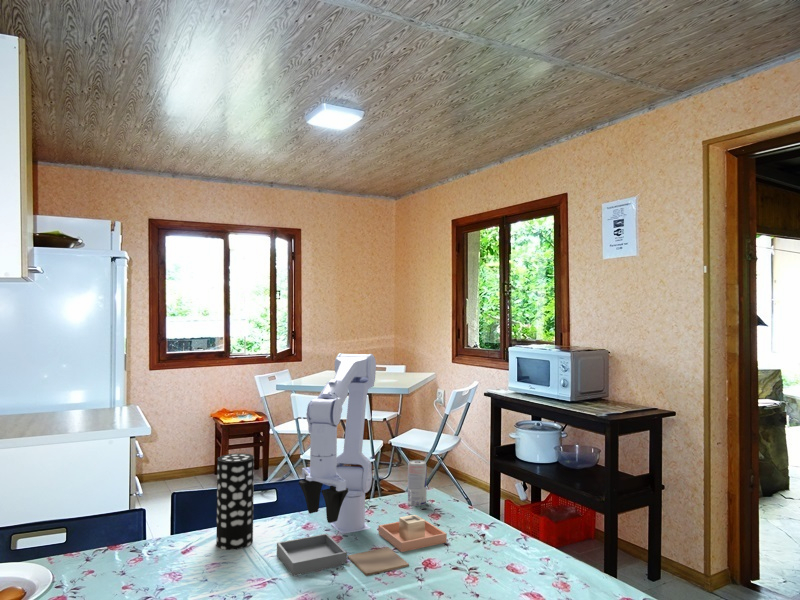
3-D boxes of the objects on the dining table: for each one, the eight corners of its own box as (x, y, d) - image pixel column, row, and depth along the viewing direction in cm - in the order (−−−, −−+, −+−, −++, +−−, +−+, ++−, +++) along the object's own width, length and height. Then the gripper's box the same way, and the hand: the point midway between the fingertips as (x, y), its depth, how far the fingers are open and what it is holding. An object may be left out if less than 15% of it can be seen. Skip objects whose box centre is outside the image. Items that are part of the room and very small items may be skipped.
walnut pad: (347, 559, 125) (347, 555, 125) (387, 551, 130) (387, 546, 130) (366, 578, 116) (366, 573, 116) (408, 568, 121) (409, 563, 121)
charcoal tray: (276, 554, 128) (276, 542, 128) (326, 544, 134) (327, 533, 134) (292, 576, 117) (293, 563, 117) (346, 564, 123) (346, 552, 123)
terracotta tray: (378, 536, 139) (378, 525, 139) (421, 527, 144) (421, 517, 145) (401, 554, 128) (401, 542, 128) (446, 544, 134) (446, 533, 134)
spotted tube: (208, 546, 132) (209, 460, 133) (231, 533, 140) (232, 452, 140) (237, 552, 129) (239, 463, 130) (260, 539, 137) (261, 455, 137)
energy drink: (426, 501, 165) (427, 460, 165) (425, 507, 159) (426, 464, 160) (408, 501, 165) (408, 459, 166) (406, 507, 160) (407, 464, 160)
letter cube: (399, 536, 137) (399, 517, 137) (415, 533, 139) (415, 514, 140) (408, 542, 133) (408, 523, 133) (424, 539, 135) (424, 520, 136)
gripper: (290, 450, 127) (289, 512, 127) (326, 463, 116) (325, 530, 116) (317, 446, 132) (316, 505, 131) (354, 457, 121) (353, 522, 120)
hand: (322, 516), depth 124 cm, fingers open, 7 cm apart
